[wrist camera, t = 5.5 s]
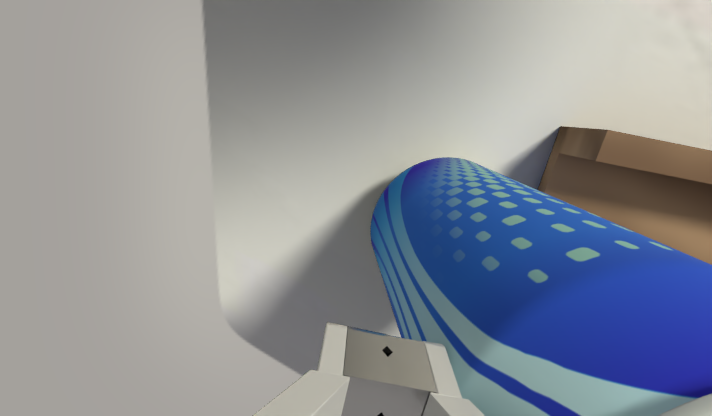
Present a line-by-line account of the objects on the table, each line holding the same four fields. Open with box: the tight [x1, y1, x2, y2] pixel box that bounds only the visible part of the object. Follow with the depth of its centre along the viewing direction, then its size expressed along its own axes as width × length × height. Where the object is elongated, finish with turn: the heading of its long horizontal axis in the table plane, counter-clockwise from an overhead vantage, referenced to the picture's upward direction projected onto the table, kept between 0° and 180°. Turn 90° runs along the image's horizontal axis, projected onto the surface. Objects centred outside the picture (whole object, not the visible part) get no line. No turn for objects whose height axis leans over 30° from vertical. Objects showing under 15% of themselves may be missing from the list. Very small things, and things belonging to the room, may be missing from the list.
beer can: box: [371, 158, 712, 416], centre depth 13 cm, size 8×8×16 cm
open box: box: [538, 126, 712, 265], centre depth 20 cm, size 14×20×4 cm
